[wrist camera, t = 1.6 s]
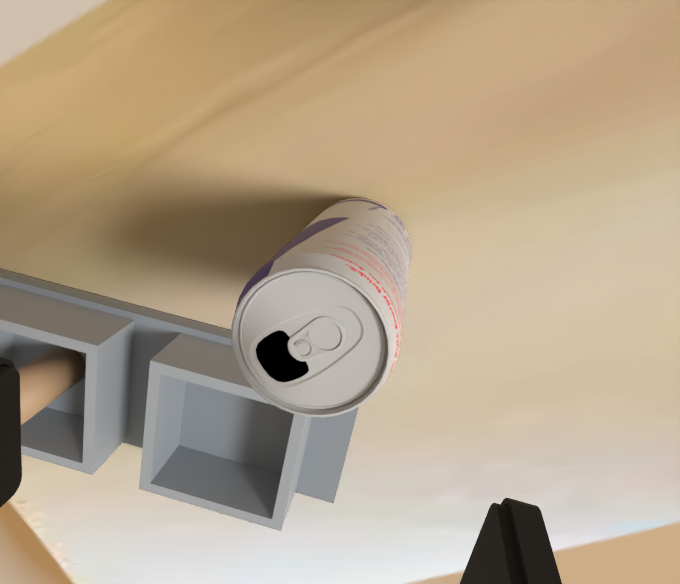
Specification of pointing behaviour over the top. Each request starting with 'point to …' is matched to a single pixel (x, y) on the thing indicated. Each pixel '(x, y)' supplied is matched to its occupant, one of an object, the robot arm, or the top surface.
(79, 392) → the grey divided tray
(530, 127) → the top surface
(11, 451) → the robot arm
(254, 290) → the energy drink
